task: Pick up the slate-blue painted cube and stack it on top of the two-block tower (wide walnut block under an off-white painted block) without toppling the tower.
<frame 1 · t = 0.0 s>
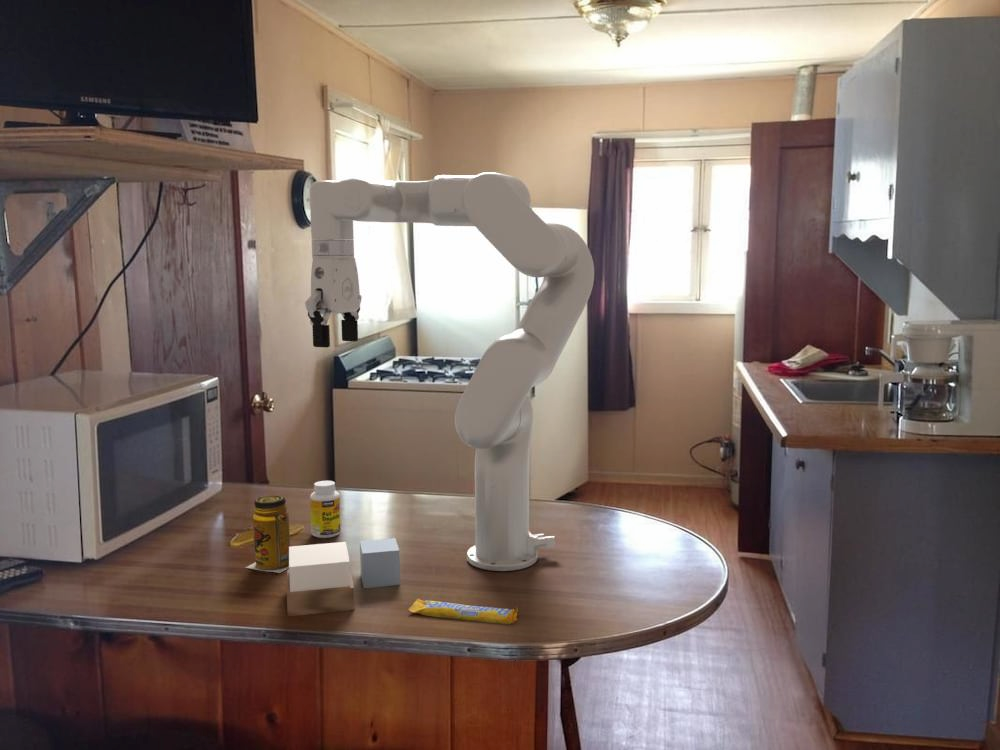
hand: (336, 343, 158), 37 cm above the counter, tool pointing down, fingers open, 9 cm apart
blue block: (380, 579, 143), on the counter
candy bar: (465, 618, 130), on the counter
supplement bottle: (326, 535, 166), on the counter
tower base block: (320, 602, 135), on the counter
tower top block: (319, 578, 135), point 4 cm above the counter
condiment: (277, 564, 151), on the counter
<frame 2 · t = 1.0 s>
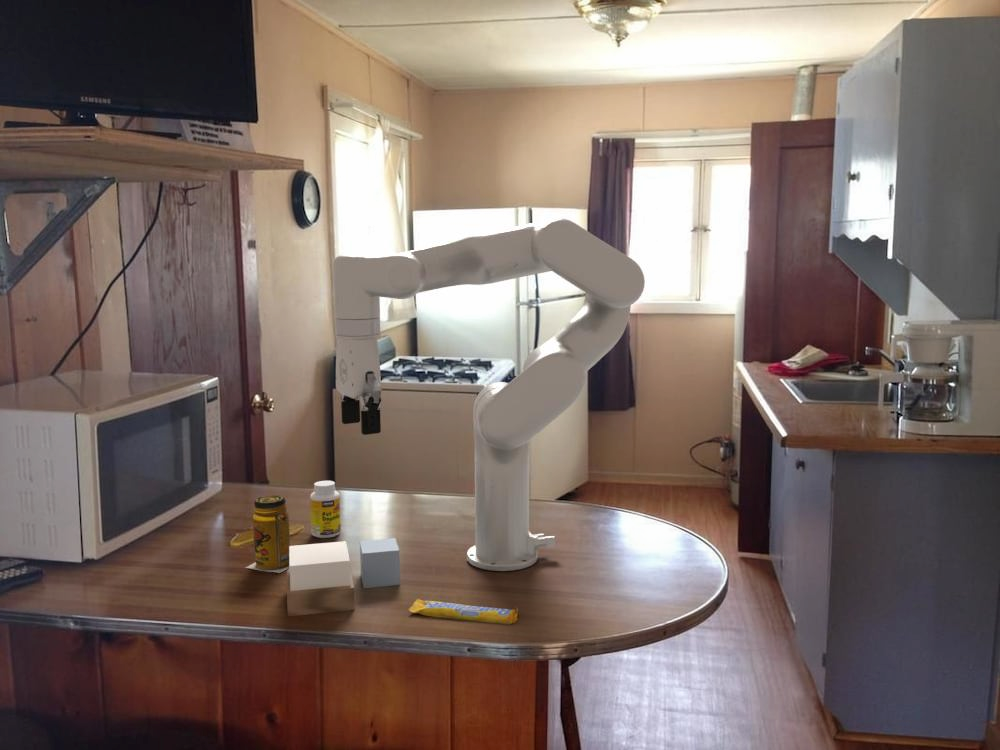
hand: (360, 428, 147), 24 cm above the counter, tool pointing down, fingers open, 9 cm apart
tower base block: (320, 602, 135), on the counter, touching tower top block
tower top block: (319, 577, 135), point 4 cm above the counter, touching tower base block
everything else where it was.
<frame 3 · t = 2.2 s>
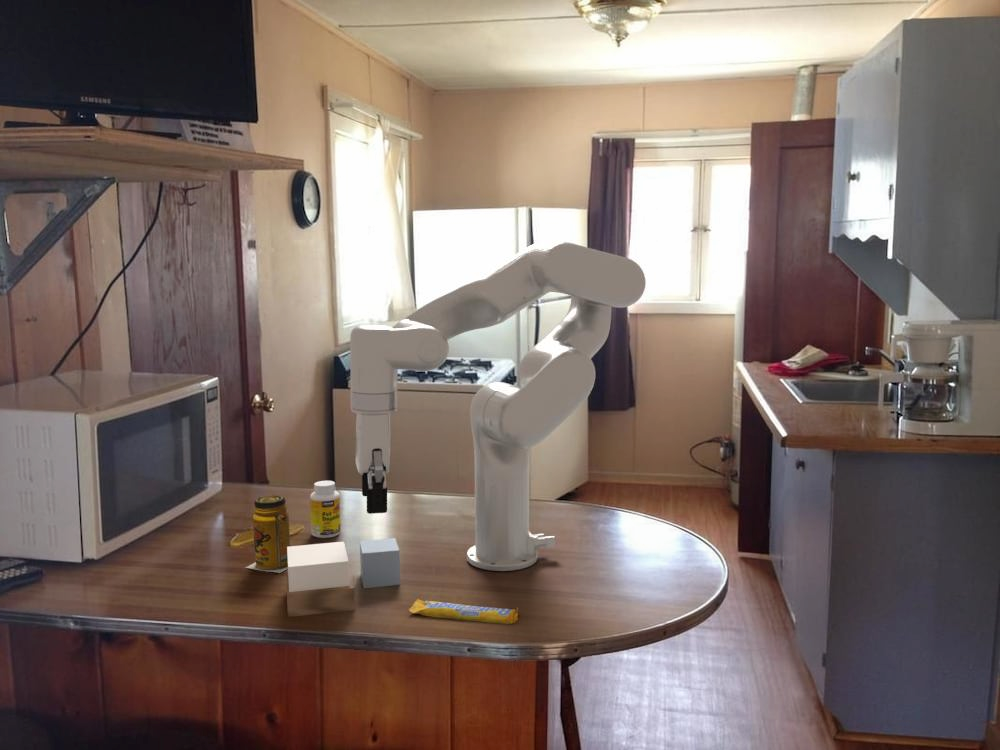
hand: (374, 503, 141), 13 cm above the counter, tool pointing down, fingers open, 9 cm apart
tower base block: (320, 602, 135), on the counter
tower top block: (318, 578, 135), point 4 cm above the counter
everything else where it was.
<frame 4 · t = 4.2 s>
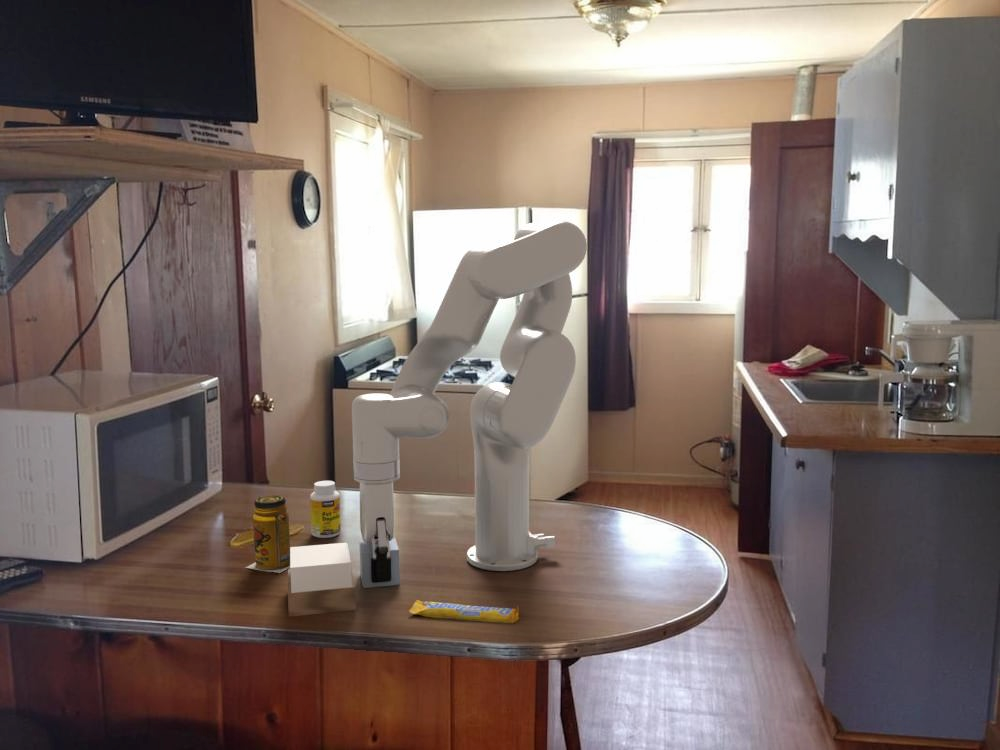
hand: (379, 572, 143), 1 cm above the counter, tool pointing down, fingers closed on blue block, 6 cm apart
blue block: (379, 579, 143), on the counter, touching gripper
tower base block: (321, 602, 135), on the counter, touching tower top block
tower top block: (320, 578, 134), point 4 cm above the counter, touching tower base block
everything else where it was.
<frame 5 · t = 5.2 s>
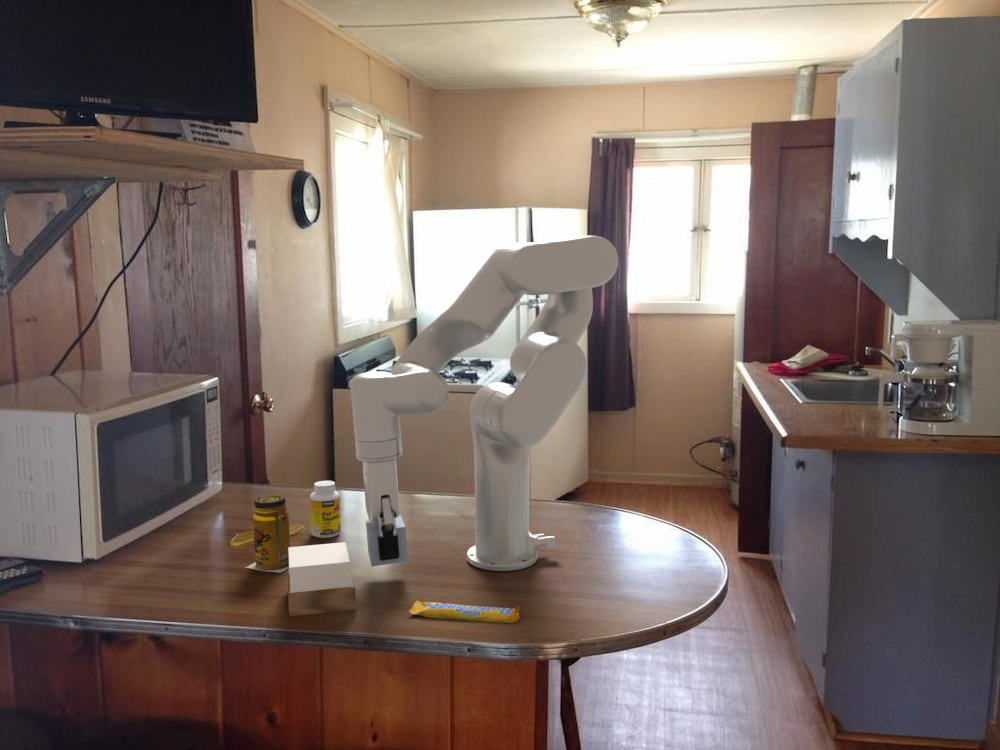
hand: (387, 550, 143), 5 cm above the counter, tool pointing down, fingers closed on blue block, 6 cm apart
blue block: (387, 557, 143), point 4 cm above the counter, touching gripper
tower base block: (321, 601, 135), on the counter
tower top block: (319, 578, 135), point 4 cm above the counter
everything else where it was.
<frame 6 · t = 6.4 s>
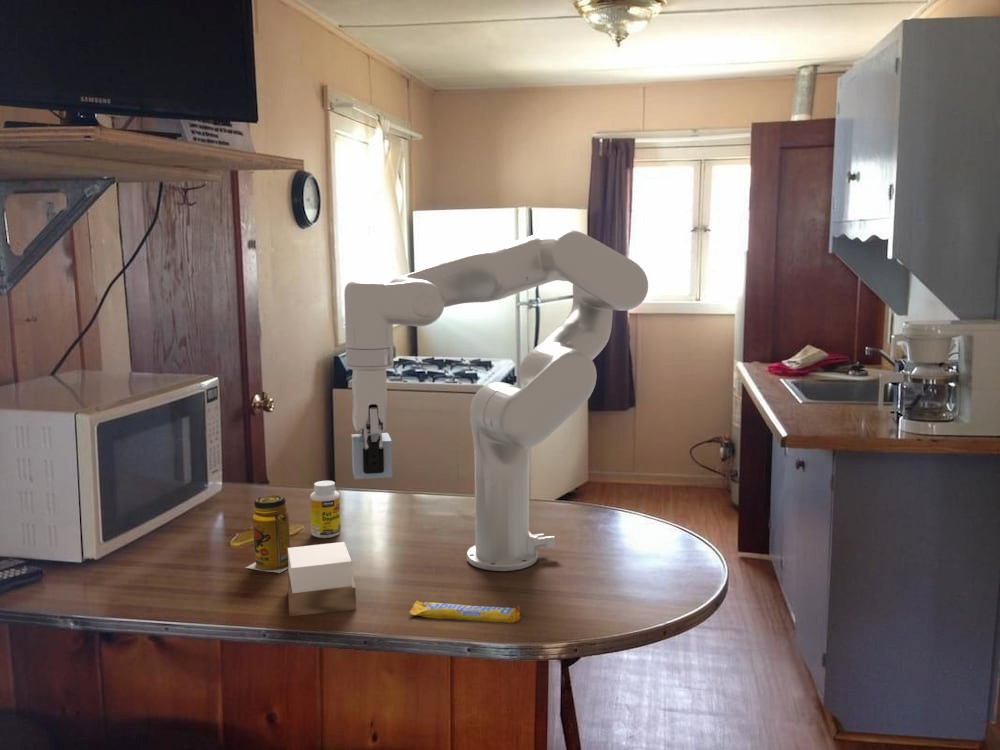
hand: (372, 466, 140), 20 cm above the counter, tool pointing down, fingers closed on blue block, 6 cm apart
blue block: (372, 473, 140), point 18 cm above the counter, touching gripper
tower base block: (321, 602, 136), on the counter, touching tower top block
tower top block: (319, 578, 135), point 4 cm above the counter, touching tower base block
everything else where it was.
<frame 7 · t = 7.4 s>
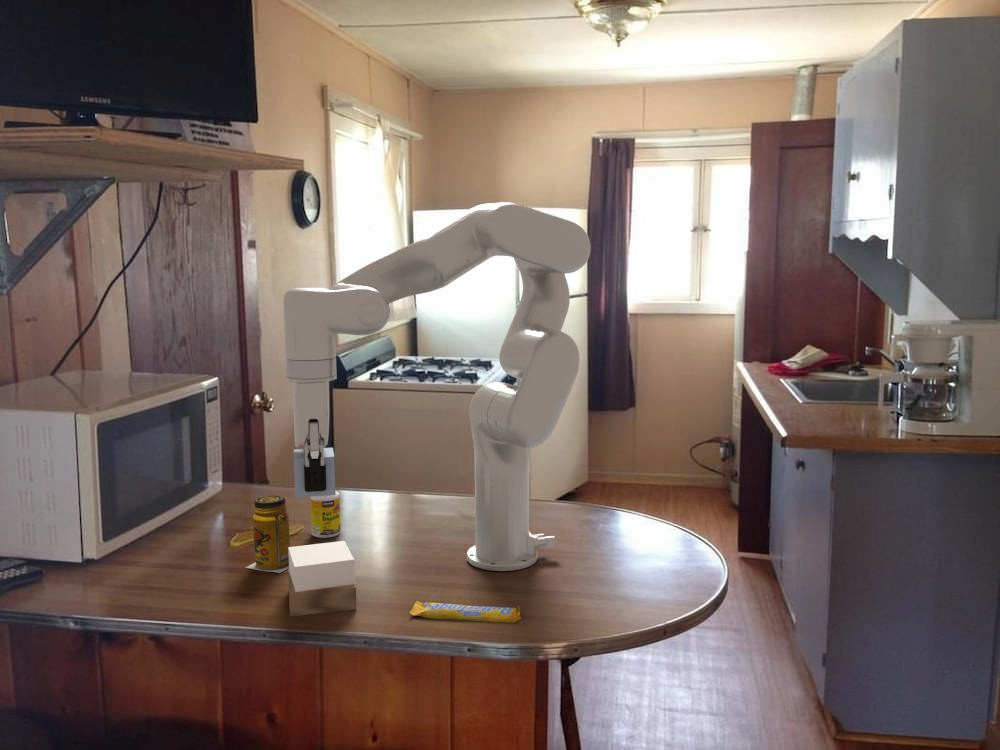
hand: (315, 483, 132), 19 cm above the counter, tool pointing down, fingers closed on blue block, 6 cm apart
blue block: (315, 490, 133), point 18 cm above the counter, touching gripper
everything else where it was.
when the fingers open (9 cm above the counter, at t = 10.0 s): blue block stays where it is, resting on tower top block.
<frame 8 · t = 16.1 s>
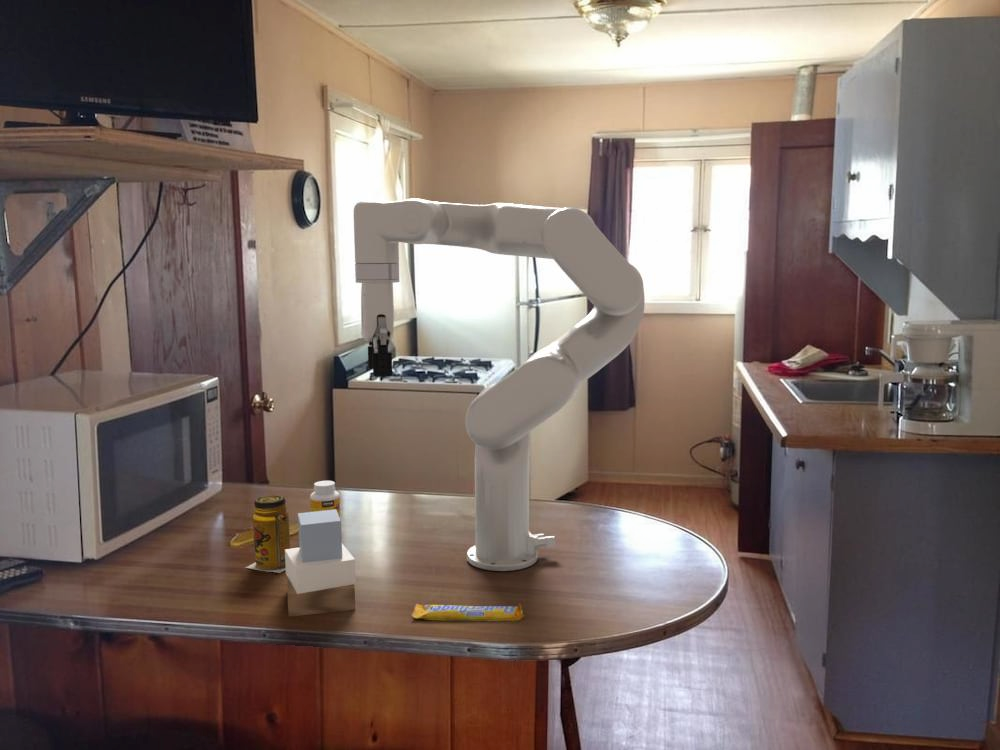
hand: (380, 371, 150), 33 cm above the counter, tool pointing down, fingers open, 9 cm apart
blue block: (320, 553, 134), point 8 cm above the counter, touching tower top block
tower top block: (320, 578, 135), point 4 cm above the counter, touching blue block, tower base block
at the end: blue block inside the target area on the tower top block (0.3 cm from its centre), point 4.0 cm above the tower top block's base; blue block tilted 0°; tower top block moved 0.6 cm from its start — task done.
